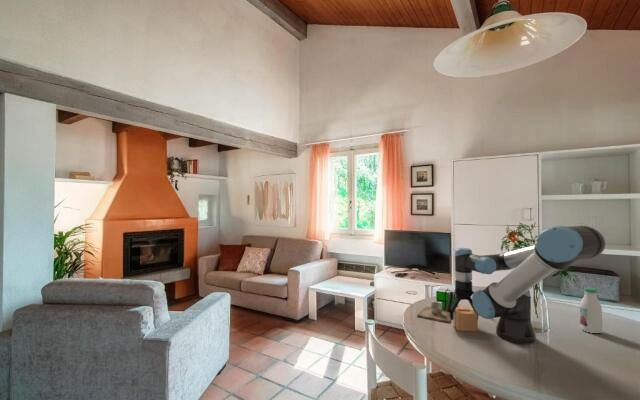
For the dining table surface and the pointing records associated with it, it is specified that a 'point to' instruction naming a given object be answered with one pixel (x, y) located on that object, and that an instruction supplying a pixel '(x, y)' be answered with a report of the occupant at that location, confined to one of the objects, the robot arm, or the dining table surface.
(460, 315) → the orange hollow rectangular tube
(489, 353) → the dining table surface
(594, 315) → the milk bottle
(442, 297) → the puzzle cube
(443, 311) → the key base
